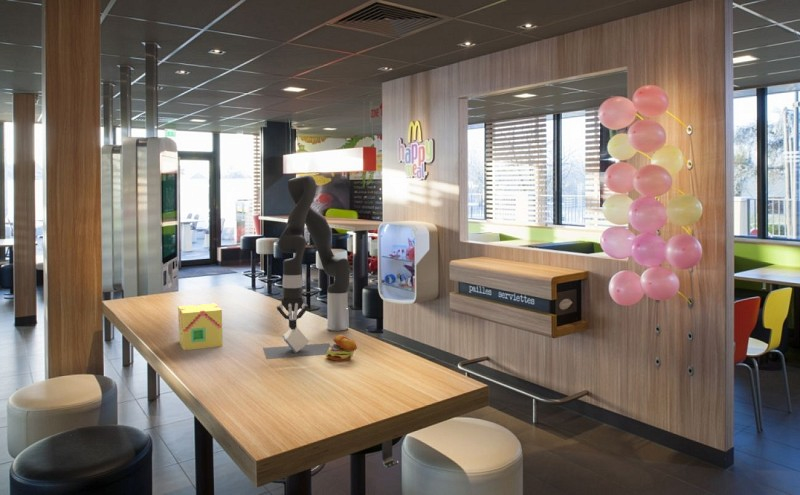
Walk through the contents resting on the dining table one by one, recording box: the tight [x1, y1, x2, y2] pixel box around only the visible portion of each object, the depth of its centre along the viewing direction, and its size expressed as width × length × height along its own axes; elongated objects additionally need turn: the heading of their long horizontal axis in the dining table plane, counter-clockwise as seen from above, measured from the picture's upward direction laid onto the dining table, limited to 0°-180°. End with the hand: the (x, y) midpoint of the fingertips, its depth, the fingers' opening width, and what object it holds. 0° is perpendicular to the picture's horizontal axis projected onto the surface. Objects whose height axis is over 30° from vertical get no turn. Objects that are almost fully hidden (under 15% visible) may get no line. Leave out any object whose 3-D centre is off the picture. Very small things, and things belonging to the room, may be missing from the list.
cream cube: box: [281, 324, 310, 353], centre depth 231 cm, size 7×7×7 cm
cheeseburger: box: [325, 334, 358, 362], centre depth 222 cm, size 10×11×10 cm
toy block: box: [177, 302, 224, 351], centre depth 241 cm, size 15×15×15 cm
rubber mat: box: [262, 342, 332, 360], centre depth 232 cm, size 27×16×1 cm, turn 108°
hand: (292, 328), depth 230 cm, fingers closed
